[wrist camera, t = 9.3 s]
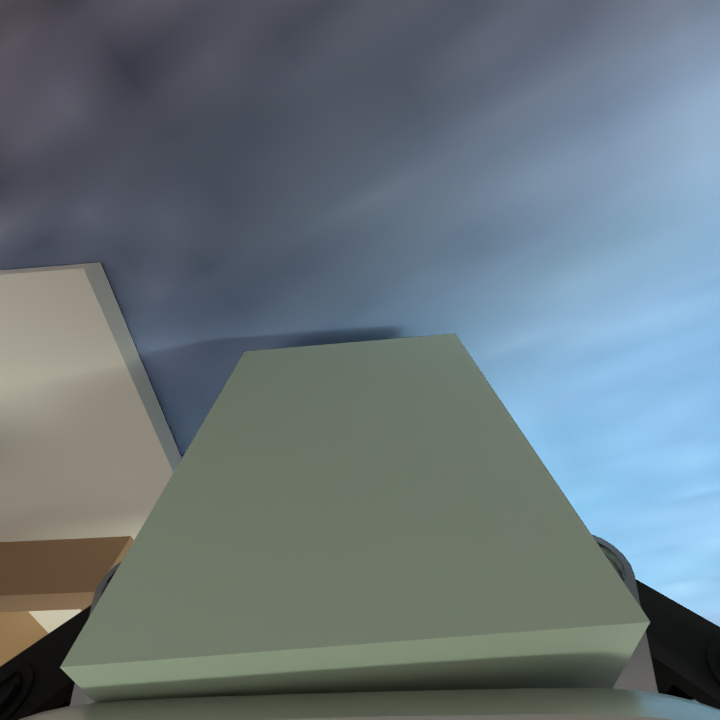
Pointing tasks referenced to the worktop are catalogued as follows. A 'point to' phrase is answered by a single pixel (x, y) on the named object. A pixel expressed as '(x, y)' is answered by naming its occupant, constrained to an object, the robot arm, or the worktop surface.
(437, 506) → the pale green block
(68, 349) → the board
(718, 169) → the worktop surface
